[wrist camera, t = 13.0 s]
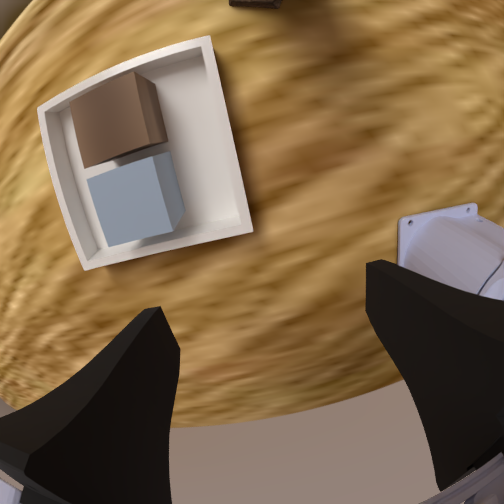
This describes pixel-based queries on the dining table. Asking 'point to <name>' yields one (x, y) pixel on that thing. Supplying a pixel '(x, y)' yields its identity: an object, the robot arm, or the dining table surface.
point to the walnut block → (117, 119)
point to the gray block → (137, 199)
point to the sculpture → (256, 3)
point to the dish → (179, 144)
